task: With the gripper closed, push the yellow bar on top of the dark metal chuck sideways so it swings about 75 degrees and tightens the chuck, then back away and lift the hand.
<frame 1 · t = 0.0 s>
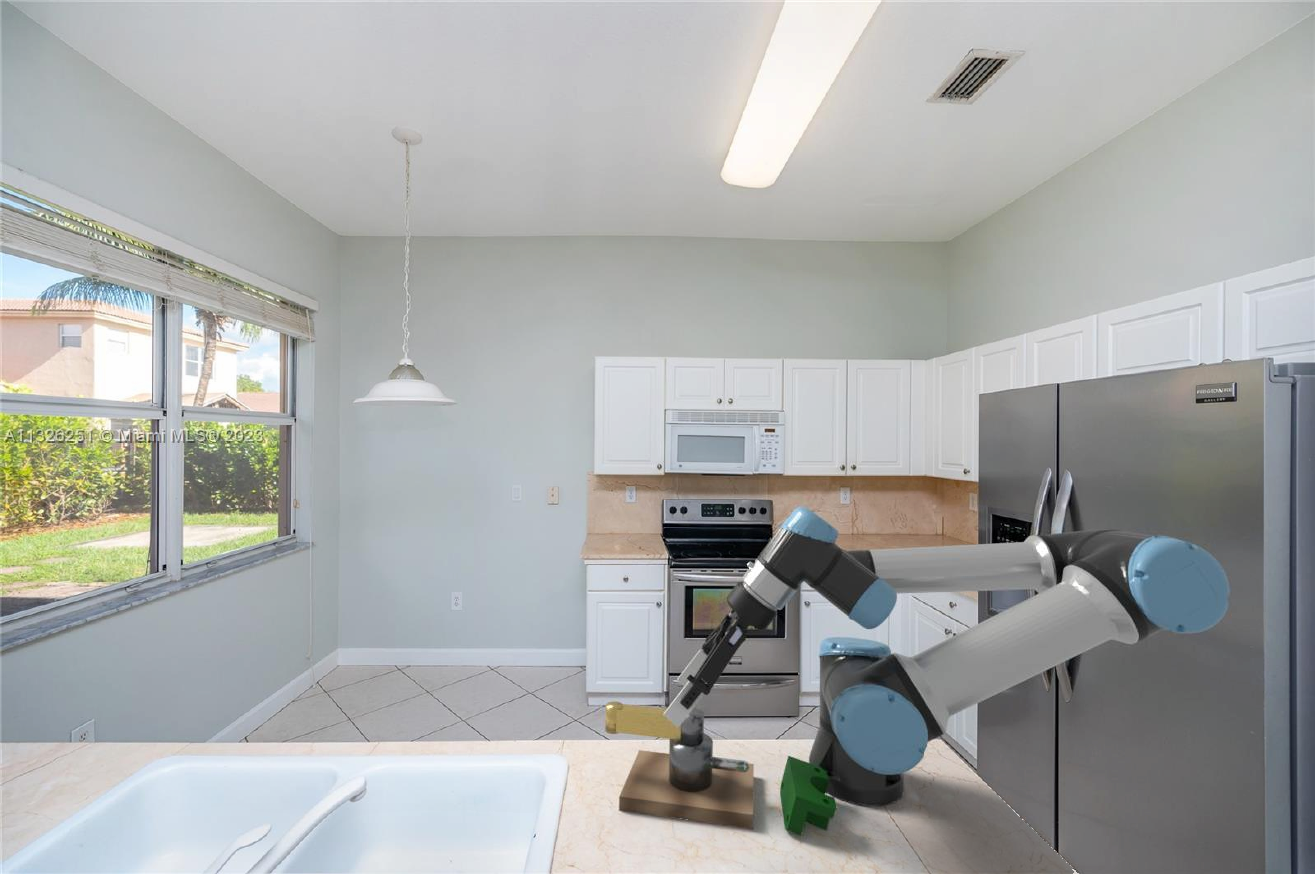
hand: (677, 701, 84), 15 cm above the countertop, tool tilted 35°, fingers open, 13 cm apart
stand: (690, 792, 86), on the countertop
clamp: (806, 818, 81), on the countertop
yellow bar: (653, 721, 88), point 10 cm above the countertop, hinge at 0.0°
chuck: (690, 779, 86), resting on stand
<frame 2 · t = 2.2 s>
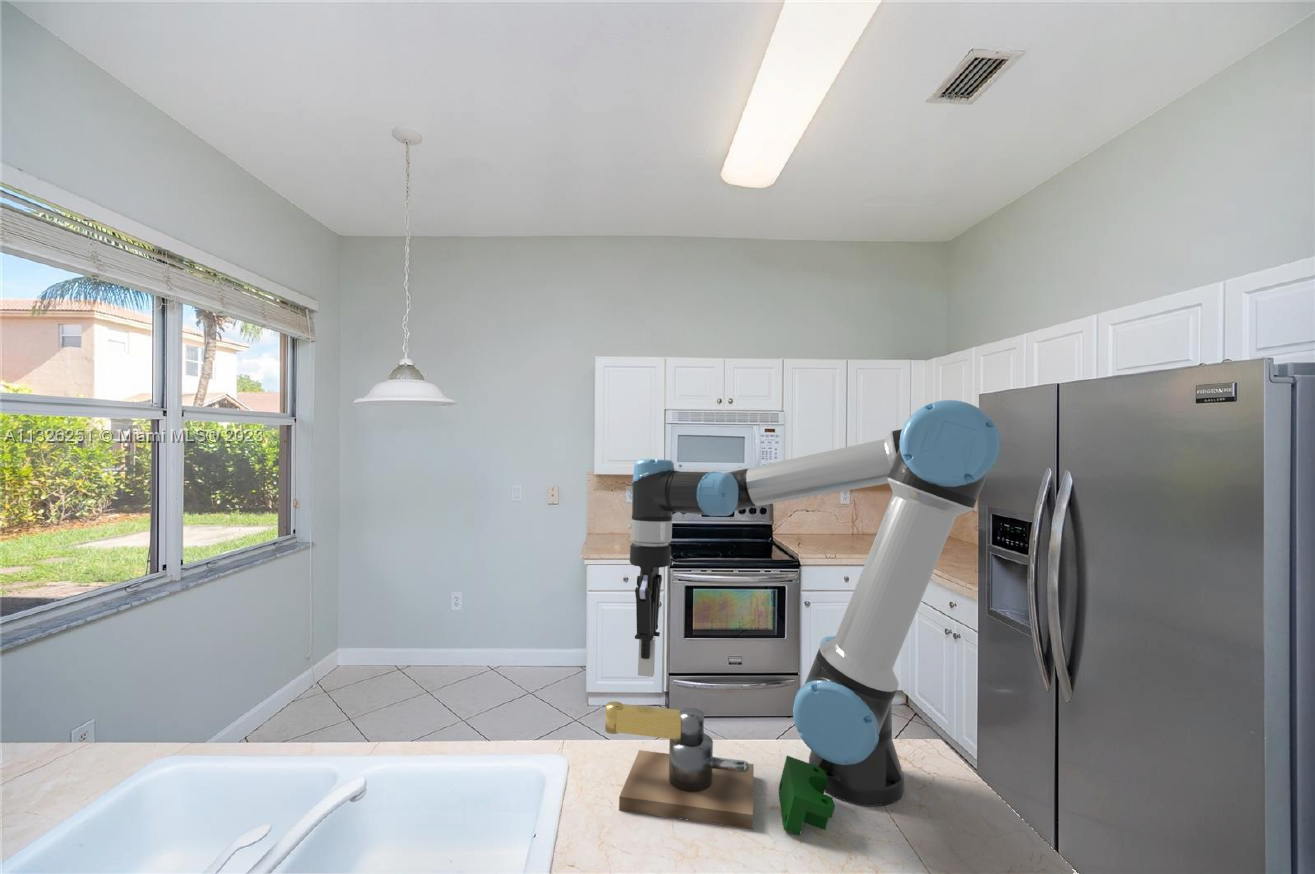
hand: (646, 674, 97), 15 cm above the countertop, tool pointing down, fingers closed
nothing on the countertop moved.
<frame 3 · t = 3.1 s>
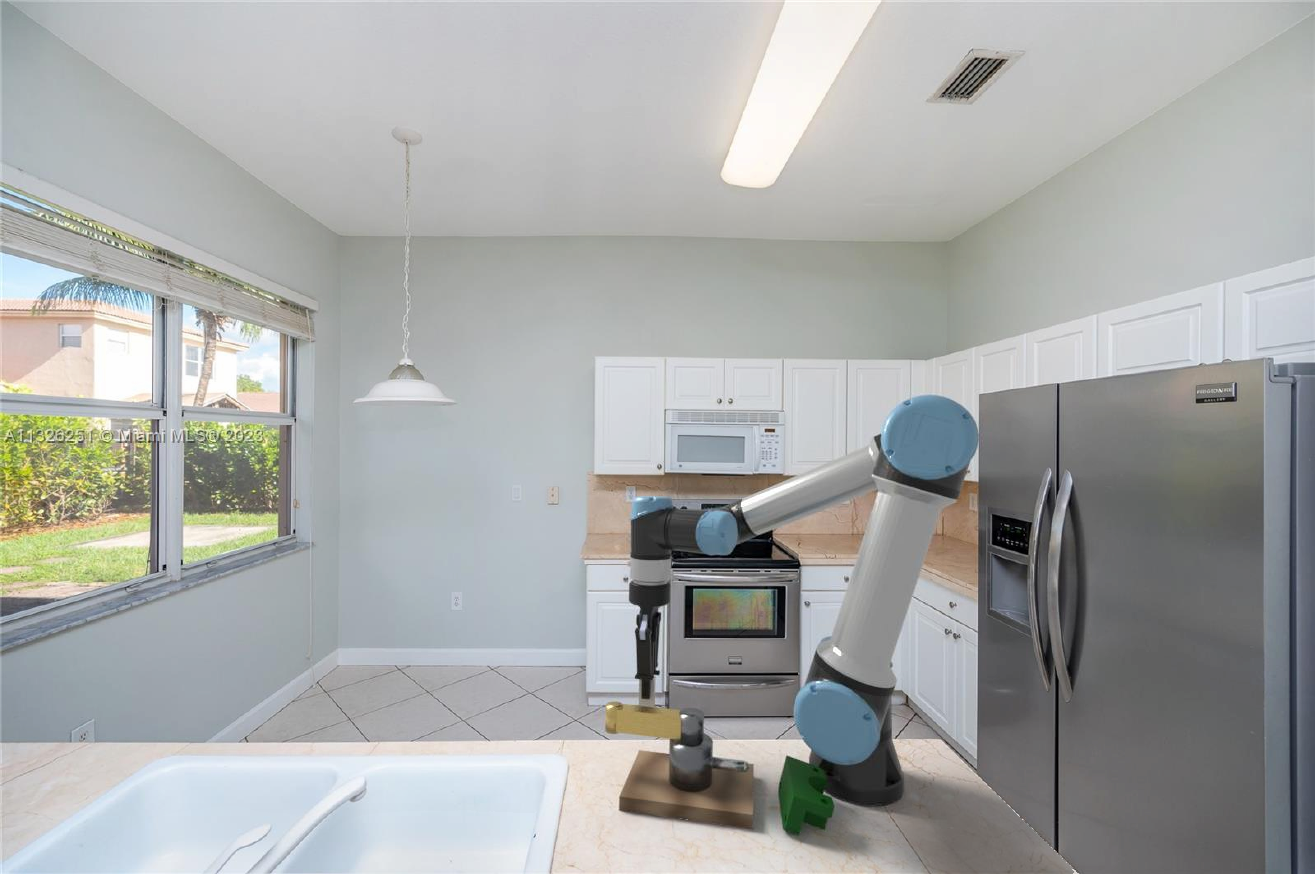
hand: (646, 714, 96), 8 cm above the countertop, tool pointing down, fingers closed
nothing on the countertop moved.
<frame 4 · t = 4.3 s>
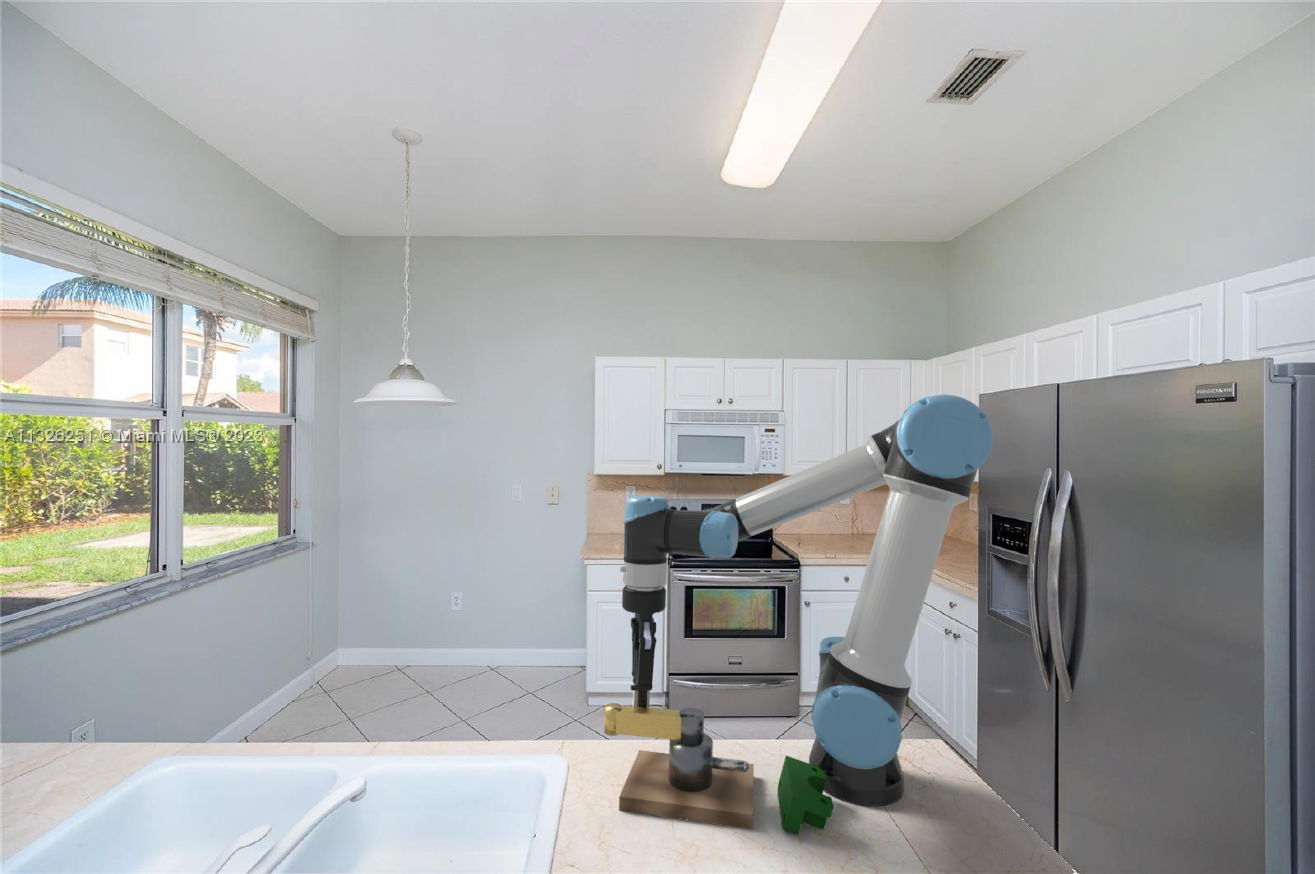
hand: (640, 726, 91), 8 cm above the countertop, tool pointing down, fingers closed
yellow bar: (653, 722, 88), point 10 cm above the countertop, hinge at 2.8°, touching gripper
everything else where it was.
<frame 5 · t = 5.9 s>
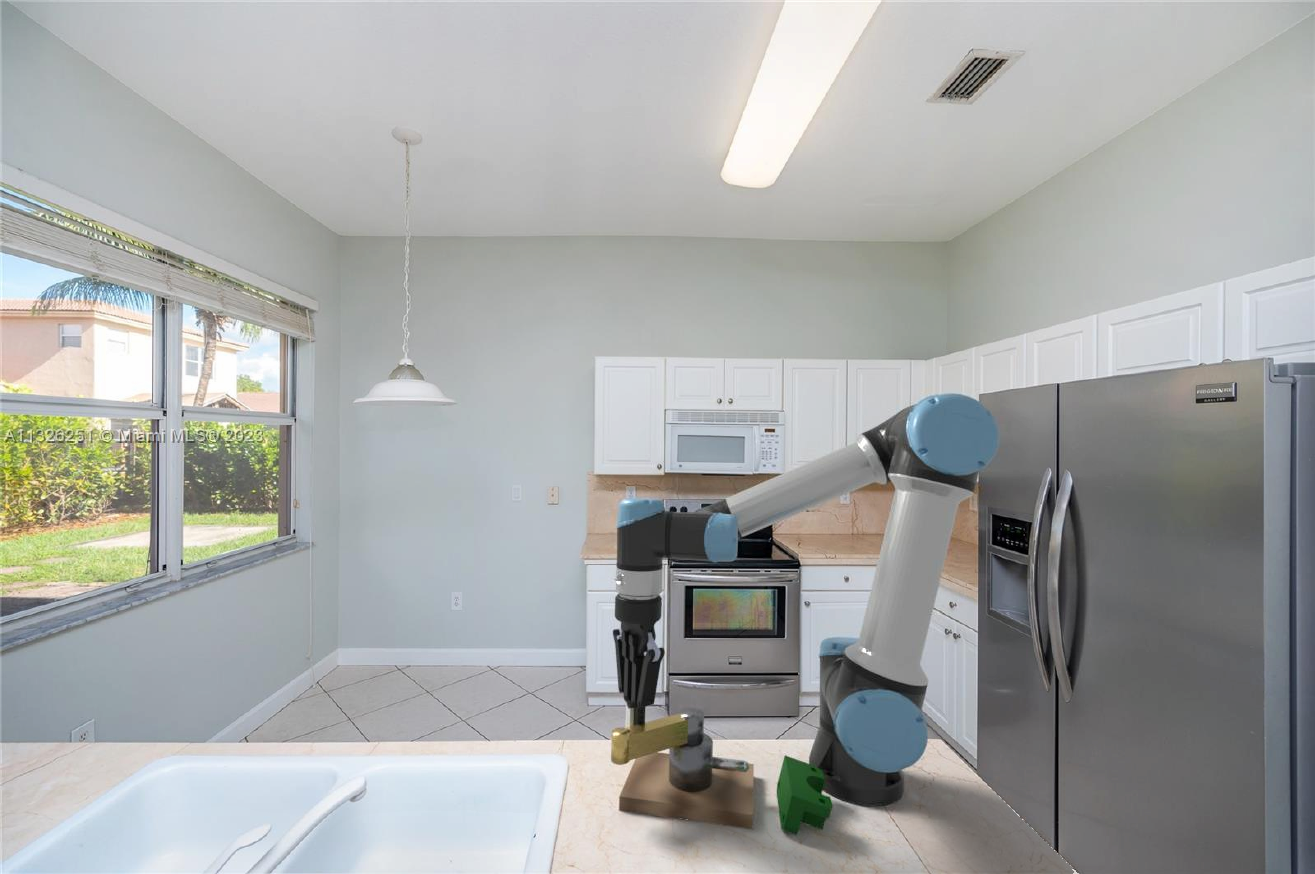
hand: (634, 745, 85), 8 cm above the countertop, tool pointing down, fingers closed
yellow bar: (659, 735, 83), point 10 cm above the countertop, hinge at 42.6°, touching gripper
everything else where it was.
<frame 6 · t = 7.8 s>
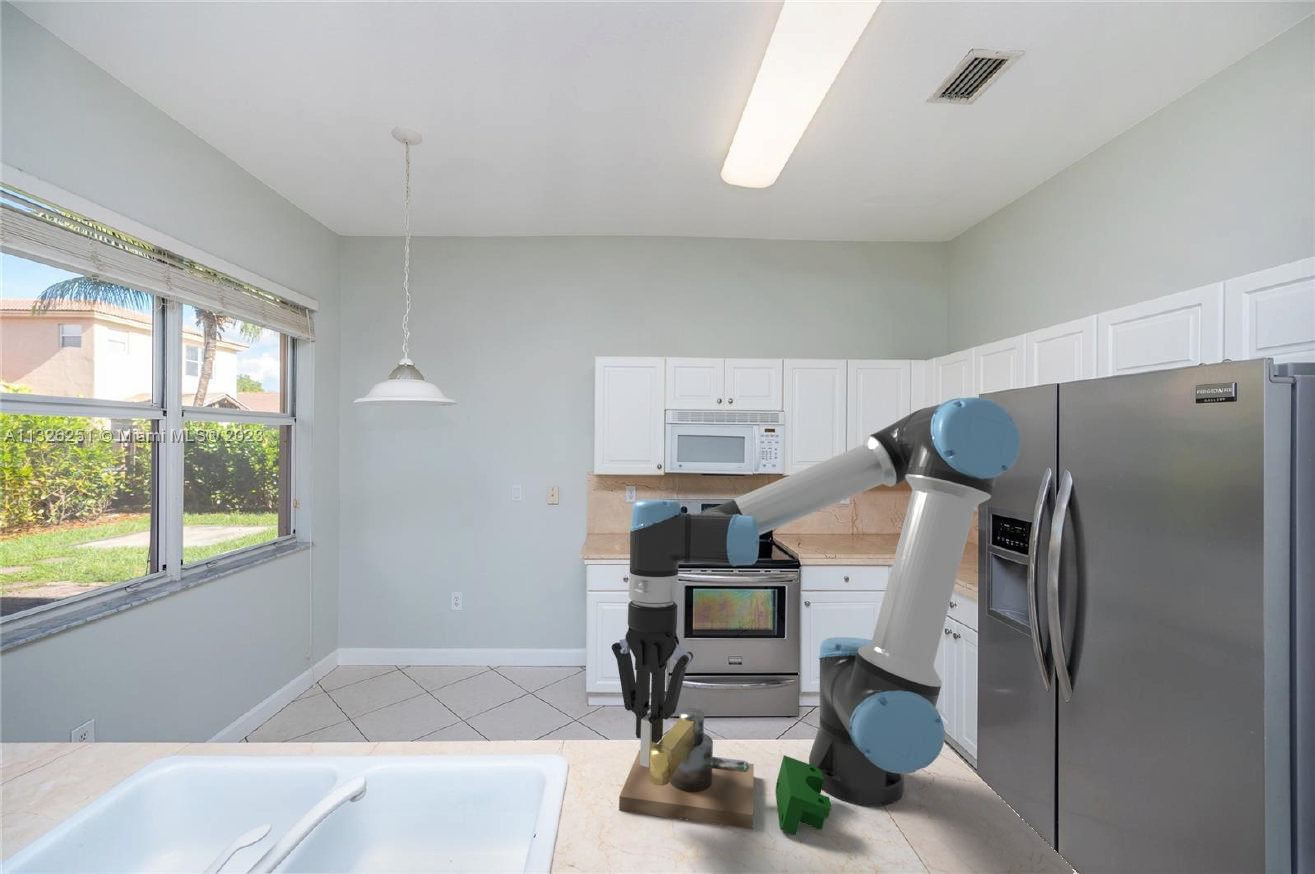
hand: (648, 761, 80), 8 cm above the countertop, tool pointing down, fingers closed
yellow bar: (677, 743, 81), point 10 cm above the countertop, hinge at 77.3°
everything else where it was.
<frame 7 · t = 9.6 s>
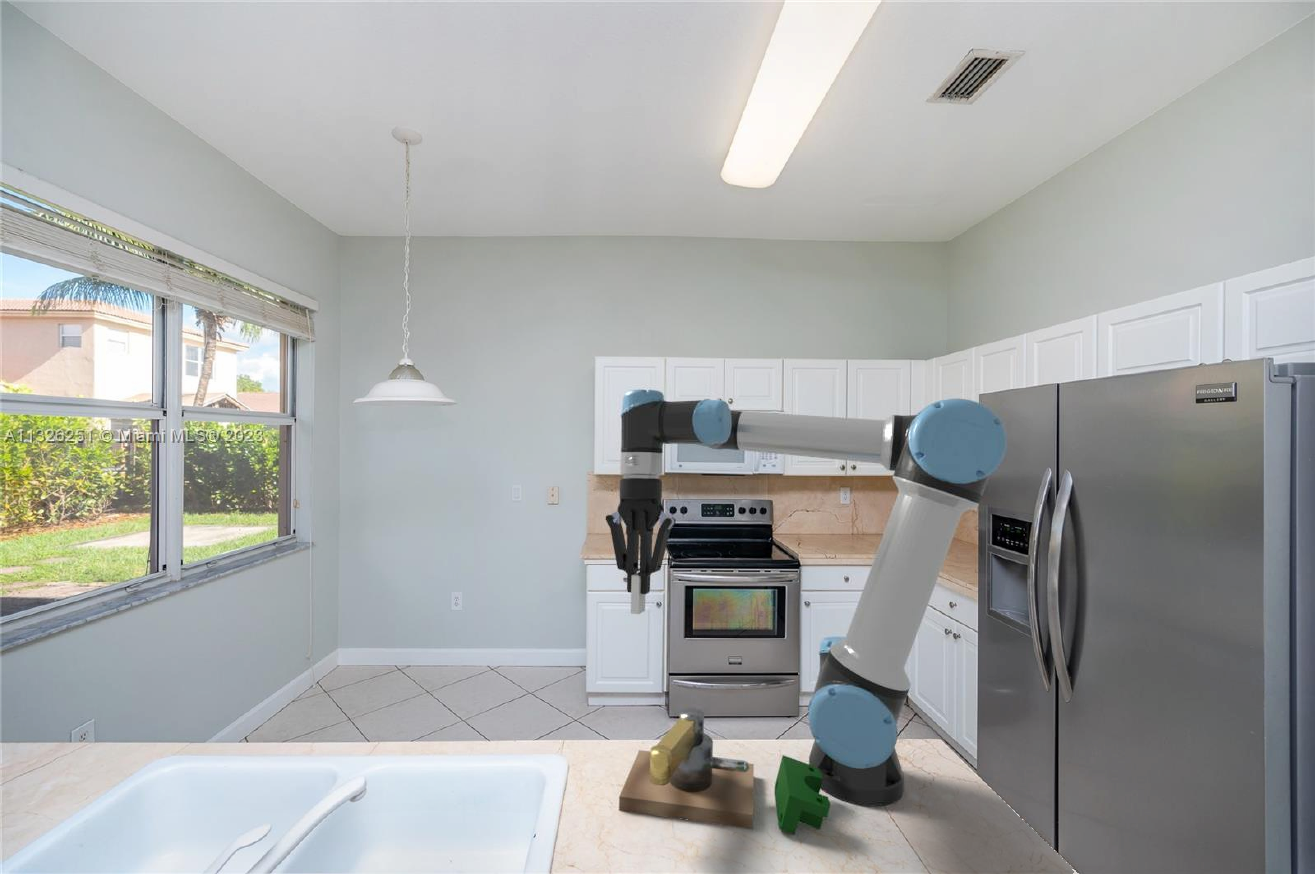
hand: (637, 612, 94), 27 cm above the countertop, tool pointing down, fingers closed
nothing on the countertop moved.
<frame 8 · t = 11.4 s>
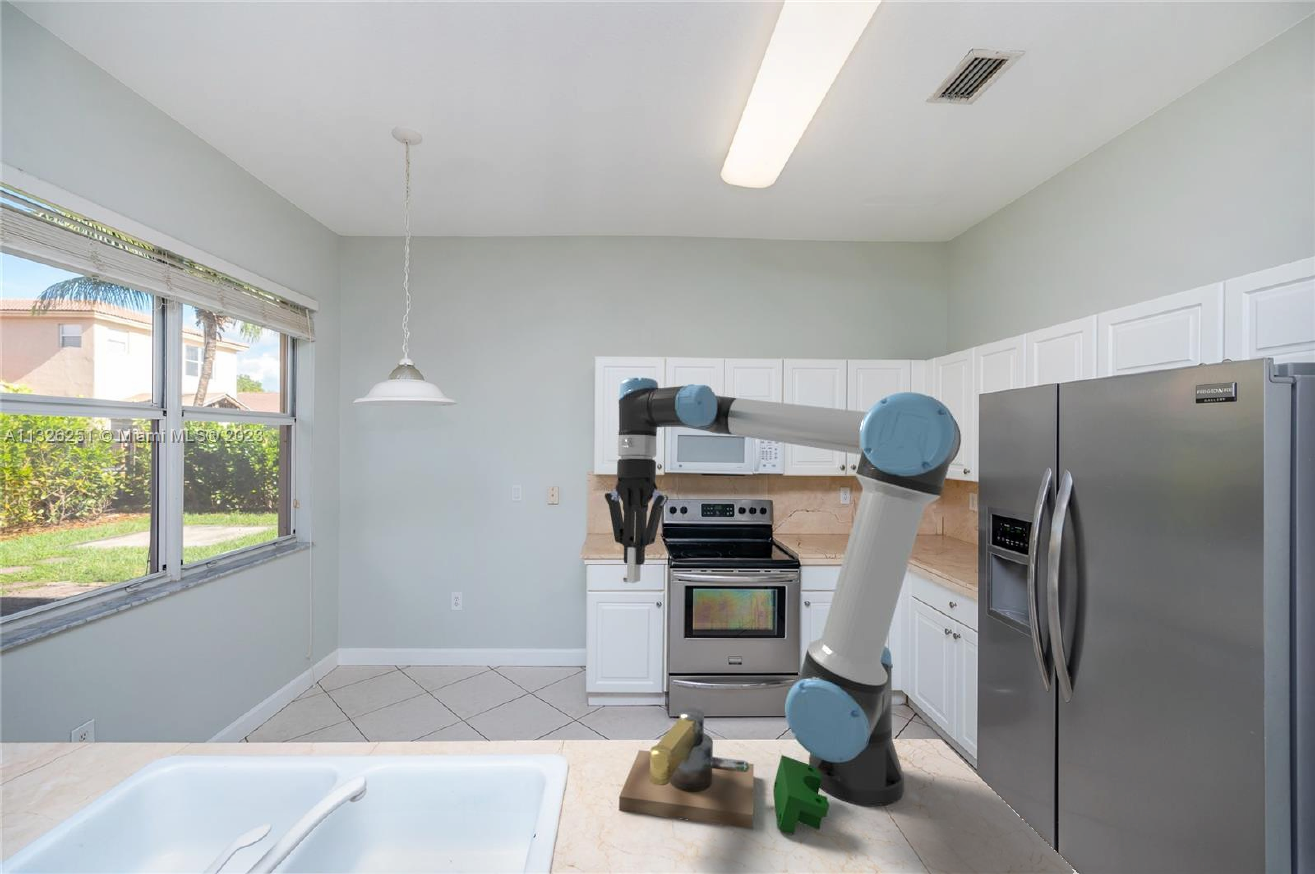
hand: (633, 581, 102), 30 cm above the countertop, tool pointing down, fingers closed
at the end: yellow bar at +77° (first picture: +0°); the gripper is holding nothing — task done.
